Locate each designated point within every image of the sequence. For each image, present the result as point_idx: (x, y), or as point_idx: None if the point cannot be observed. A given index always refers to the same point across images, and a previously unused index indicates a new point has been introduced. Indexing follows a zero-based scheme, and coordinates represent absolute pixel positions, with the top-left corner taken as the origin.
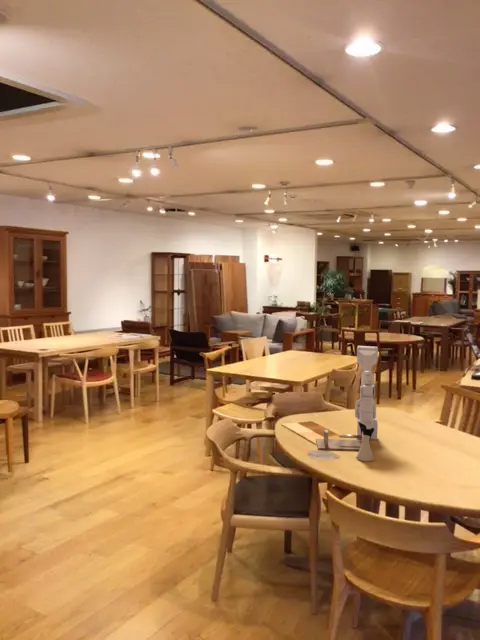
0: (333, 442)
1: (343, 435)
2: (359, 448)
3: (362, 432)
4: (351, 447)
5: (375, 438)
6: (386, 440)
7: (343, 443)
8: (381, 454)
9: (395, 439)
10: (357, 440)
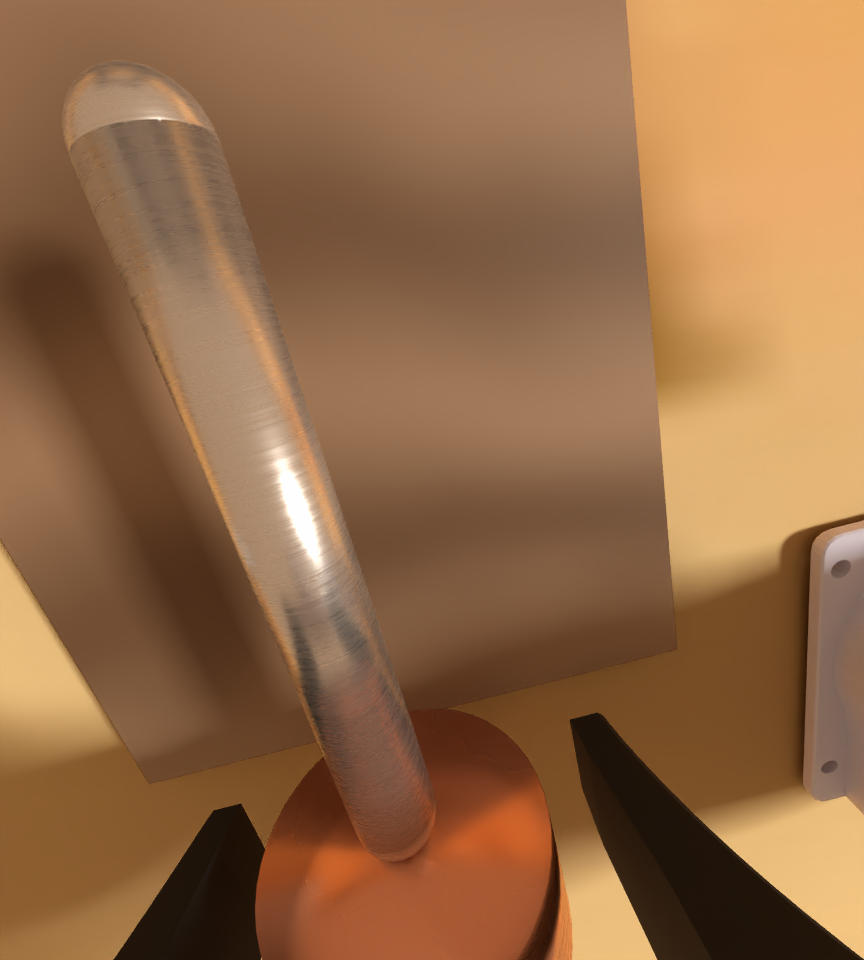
0: (315, 3)
1: (134, 299)
2: (130, 662)
3: (473, 940)
4: (111, 520)
5: (823, 782)
6: (788, 870)
7: (334, 311)
8: (119, 908)
9: (840, 934)
10: (647, 566)
